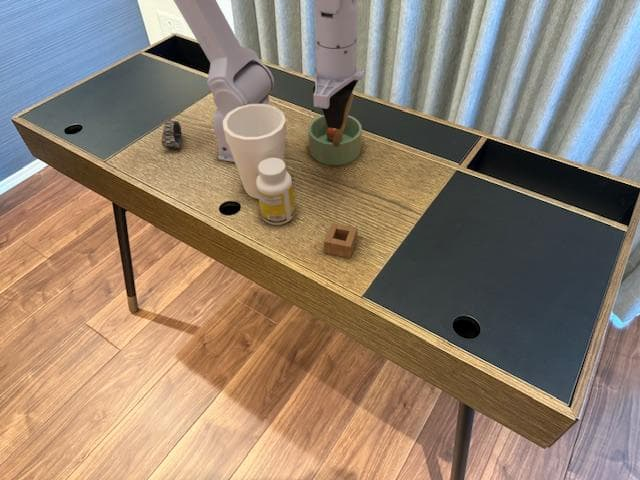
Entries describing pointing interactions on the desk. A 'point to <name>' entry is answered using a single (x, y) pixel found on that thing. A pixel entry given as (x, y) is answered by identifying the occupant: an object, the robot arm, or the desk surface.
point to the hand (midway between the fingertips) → (336, 124)
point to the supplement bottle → (275, 192)
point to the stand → (340, 240)
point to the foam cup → (254, 139)
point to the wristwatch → (171, 135)
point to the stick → (340, 131)
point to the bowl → (323, 146)
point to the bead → (330, 133)
